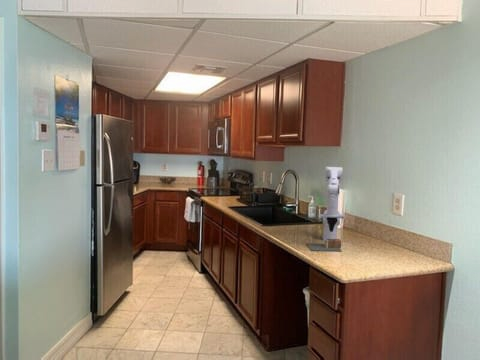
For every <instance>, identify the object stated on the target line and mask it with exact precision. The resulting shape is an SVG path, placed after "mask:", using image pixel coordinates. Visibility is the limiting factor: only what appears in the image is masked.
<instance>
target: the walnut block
mask: <svg viewBox="0 0 480 360" xmlns="http://www.w3.org/2000/svg"><path fill="white" fill-rule="evenodd" d="M324 244H325V245H324V246H325V247H326V248H339V249H341V248H342V240H341V239H340V238H337V239H325V241H324Z"/></svg>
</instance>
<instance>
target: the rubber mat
mask: <svg viewBox="0 0 480 360" xmlns="http://www.w3.org/2000/svg"><path fill="white" fill-rule="evenodd" d="M305 245H306V247H308V248H309V250H310V251H311V252H335V253H336V252H337V253H338V252H342V250H341V248H326V247H325V246H324V245H325V243H319V242H318V243H313V242H309V243H307V242H306V243H305Z"/></svg>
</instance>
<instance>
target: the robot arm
mask: <svg viewBox="0 0 480 360" xmlns="http://www.w3.org/2000/svg"><path fill="white" fill-rule="evenodd" d="M324 176H325V181H326V182H327V184H328V185H327V187H326V196H327V197H326V199H327V200H326V210H324V211H323V213H318V214H317V215H318V219H322V224H323V225H324V227H323V234H322V235H323V236H322V237H321V239H322V240H323V241H324V242H325V239H338V227H339V226H340V225H341V219H343V220H346V217H347V216H346V214H341V213H340V211H339V196H340V192H341V191H340V189H341V187H340V184H339V183H340V182H342V180H343V179H342V177H343V167H342V166H325V174H324Z"/></svg>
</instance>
